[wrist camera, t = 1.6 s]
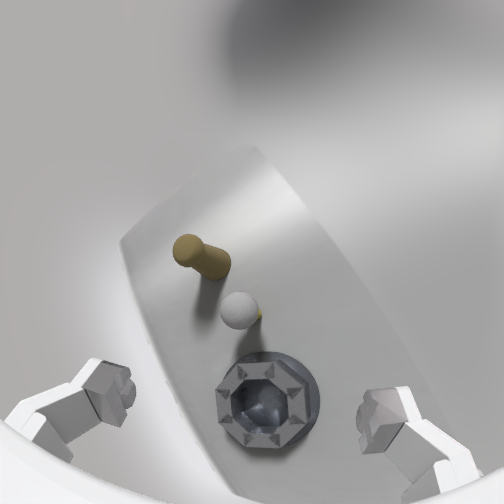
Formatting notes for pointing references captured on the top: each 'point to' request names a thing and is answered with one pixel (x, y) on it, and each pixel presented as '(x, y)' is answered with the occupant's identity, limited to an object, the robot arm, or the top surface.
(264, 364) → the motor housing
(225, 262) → the cork
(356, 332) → the top surface
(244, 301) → the light bulb
